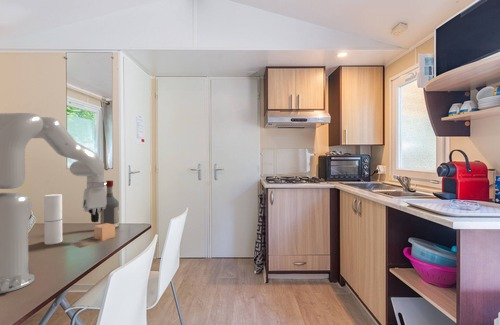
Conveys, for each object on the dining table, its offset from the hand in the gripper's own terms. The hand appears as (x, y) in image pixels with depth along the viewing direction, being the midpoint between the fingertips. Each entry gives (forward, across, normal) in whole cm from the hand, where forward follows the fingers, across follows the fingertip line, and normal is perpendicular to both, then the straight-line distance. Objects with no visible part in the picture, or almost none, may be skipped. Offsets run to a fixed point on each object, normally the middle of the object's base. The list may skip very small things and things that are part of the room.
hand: (94, 221), depth 131 cm
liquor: (+11, -19, -17) cm, 27 cm away
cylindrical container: (+12, +11, -17) cm, 23 cm away
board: (+11, -1, -1) cm, 11 cm away
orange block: (+10, -6, -1) cm, 11 cm away
